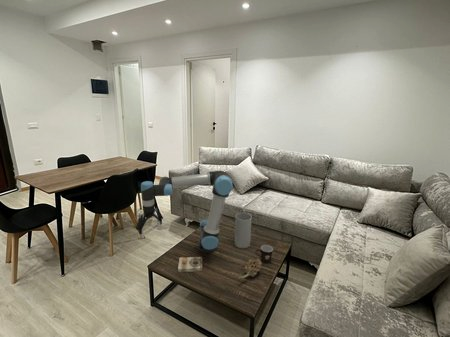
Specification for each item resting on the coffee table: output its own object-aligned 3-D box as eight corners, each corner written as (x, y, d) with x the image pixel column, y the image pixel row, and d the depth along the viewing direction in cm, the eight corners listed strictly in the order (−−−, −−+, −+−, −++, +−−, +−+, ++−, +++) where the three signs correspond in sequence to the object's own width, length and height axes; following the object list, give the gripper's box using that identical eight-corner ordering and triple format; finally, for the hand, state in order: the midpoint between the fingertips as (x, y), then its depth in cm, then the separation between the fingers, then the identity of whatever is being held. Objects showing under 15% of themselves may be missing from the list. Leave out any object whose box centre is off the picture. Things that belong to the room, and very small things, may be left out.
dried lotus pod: (251, 264, 171) (252, 252, 168) (263, 270, 165) (264, 258, 163) (234, 282, 154) (234, 269, 151) (247, 289, 148) (248, 276, 145)
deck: (202, 259, 174) (202, 256, 174) (202, 271, 163) (202, 268, 162) (179, 260, 173) (179, 257, 172) (178, 272, 162) (178, 268, 161)
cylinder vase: (252, 243, 196) (254, 215, 189) (245, 250, 186) (247, 221, 179) (239, 238, 203) (240, 211, 196) (231, 245, 192) (232, 217, 185)
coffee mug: (273, 258, 178) (274, 246, 175) (270, 265, 170) (271, 253, 167) (258, 254, 182) (258, 242, 180) (254, 260, 175) (255, 248, 172)
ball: (187, 261, 169) (187, 256, 168) (187, 264, 165) (187, 260, 164) (182, 261, 168) (182, 256, 167) (181, 264, 165) (181, 260, 164)
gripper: (160, 197, 169) (162, 224, 175) (127, 209, 150) (131, 239, 156) (167, 200, 165) (168, 227, 171) (134, 213, 146) (138, 243, 152)
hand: (150, 233), depth 164 cm, fingers open, 13 cm apart
